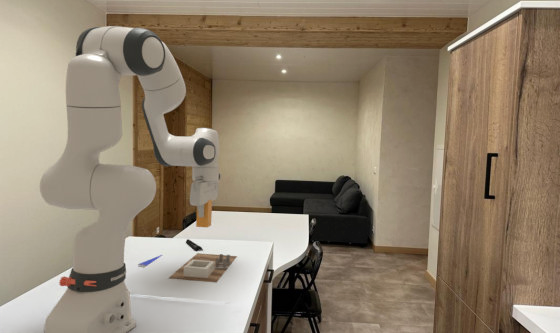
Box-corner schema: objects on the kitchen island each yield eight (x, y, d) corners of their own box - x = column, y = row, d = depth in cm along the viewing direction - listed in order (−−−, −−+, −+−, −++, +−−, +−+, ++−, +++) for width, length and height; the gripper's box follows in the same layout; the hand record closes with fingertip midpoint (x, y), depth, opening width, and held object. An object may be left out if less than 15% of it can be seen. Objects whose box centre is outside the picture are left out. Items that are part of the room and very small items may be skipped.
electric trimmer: (192, 245, 163) (192, 238, 163) (204, 254, 150) (204, 246, 150) (183, 246, 161) (183, 239, 161) (195, 255, 148) (195, 247, 148)
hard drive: (156, 267, 129) (178, 257, 140) (138, 263, 132) (160, 254, 143) (156, 271, 129) (178, 261, 140) (138, 267, 132) (160, 258, 143)
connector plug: (207, 227, 125) (208, 197, 125) (196, 226, 125) (197, 196, 125) (211, 225, 129) (212, 196, 129) (200, 224, 129) (201, 195, 129)
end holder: (207, 278, 120) (207, 268, 120) (183, 276, 121) (183, 267, 120) (214, 269, 128) (214, 261, 127) (192, 268, 129) (192, 259, 128)
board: (216, 286, 116) (216, 271, 116) (167, 281, 118) (168, 267, 118) (236, 259, 144) (237, 247, 144) (197, 256, 146) (197, 244, 146)
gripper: (204, 177, 116) (203, 221, 116) (222, 174, 136) (220, 212, 137) (185, 176, 117) (184, 220, 117) (205, 174, 137) (204, 211, 137)
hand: (204, 215), depth 127 cm, fingers closed on connector plug, 4 cm apart
